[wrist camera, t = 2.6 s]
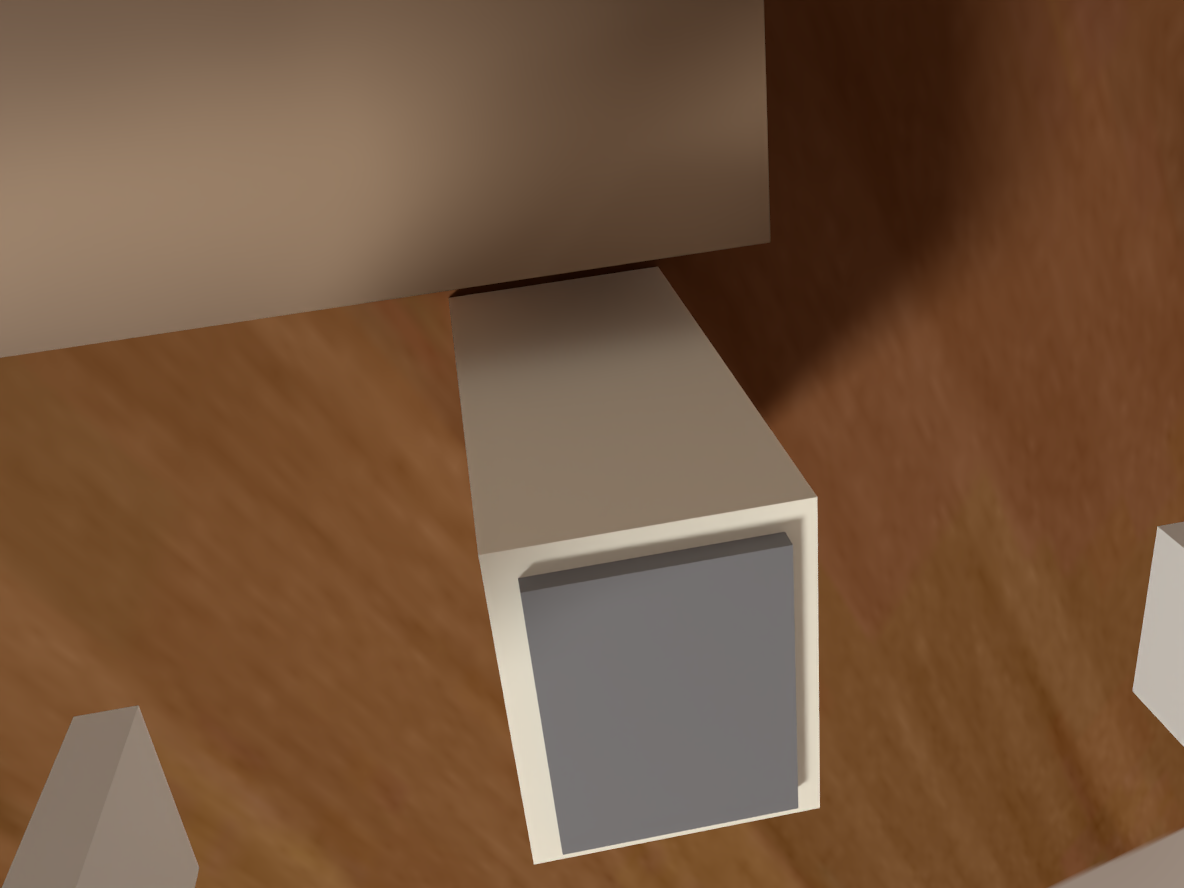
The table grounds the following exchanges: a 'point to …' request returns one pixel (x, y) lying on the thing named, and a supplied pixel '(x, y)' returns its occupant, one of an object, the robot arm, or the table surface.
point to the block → (637, 566)
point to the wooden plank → (359, 152)
